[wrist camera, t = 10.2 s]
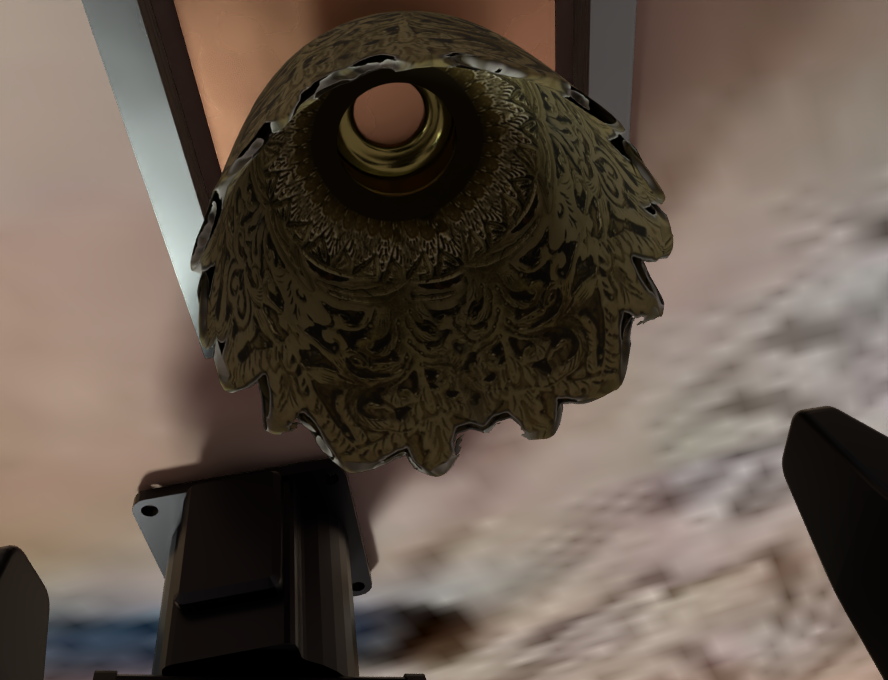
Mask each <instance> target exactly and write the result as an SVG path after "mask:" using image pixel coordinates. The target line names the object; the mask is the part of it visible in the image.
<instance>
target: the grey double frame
mask: <svg viewBox="0 0 888 680" xmlns="http://www.w3.org/2000/svg"><path fill="white" fill-rule="evenodd" d="M82 3H83V6H84V9H85V12H86V15H87V18H88V20H89V23H90V26H91V29H92V32H93V35H94V38H95V41H96V44H97V46H98V49H99V52H100V55H101V58H102V61H103V64H104V67H105V70H106V72H107V75H108V78H109V81H110V84H111V87H112V90H113V93H114V96H115V99H116V101H117V104H118V107H119V110H120V113H121V116H122V119H123V122H124V125H125V127H126V130H127V133H128V136H129V139H130V142H131V145H132V148H133V151H134V154H135V156H136V159H137V162H138V165H139V168H140V171H141V174H142V177H143V180H144V182H145V185H146V188H147V191H148V194H149V197H150V200H151V203H152V206H153V209H154V211H155V214H156V217H157V220H158V223H159V226H160V229H161V232H162V235H163V237H164V240H165V243H166V246H167V249H168V252H169V255H170V258H171V261H172V264H173V266H174V269H175V272H176V275H177V278H178V281H179V284H180V287H181V290H182V292H183V295H184V298H185V301H186V304H187V307H188V310H189V313H190V316H191V318H192V321H193V324H194V327H195V330H196V333H197V336H198V339H199V342H200V345H201V347H202V350H203V353H204V356H205V359H206V358H212V357H213V353H214V346H215V344H214V345H213V346H212V347H209V348H208V349H206V348H204V347H203V346H202V344H201V341H200V337H199V302H198V296H197V289H198V285H199V280H200V276H201V274H199V273H196V272H193V271H192V270H191V265H190V262H191V256H192V252H193V248H194V245H195V241H196V238H197V235H198V233H199V231H200V229H201V226H202V224H203V221H204V219H205V215H206V213H207V210H208V206H209V204H210V202H209V198H208V195H207V191H206V188H205V185H204V181H203V178H202V175H201V171H200V168H199V164H198V161H197V158H196V154H195V151H194V148H193V144H192V141H191V137H190V134H189V131H188V127H187V124H186V121H185V117H184V114H183V110H182V107H181V104H180V100H179V97H178V94H177V90H176V87H175V83H174V80H173V77H172V73H171V70H170V67H169V63H168V60H167V56H166V53H165V50H164V46H163V43H162V40H161V36H160V33H159V29H158V26H157V23H156V19H155V16H154V13H153V9H152V6H151V2H150V0H82ZM174 4H175V8H176V11H177V15H178V18H179V22H180V25H181V29H182V33H183V36H184V40H185V43H186V47H187V51H188V54H189V58H190V61H191V65H192V68H193V72H194V76H195V79H196V83H197V86H198V90H199V93H200V97H201V101H202V104H203V108H204V111H205V115H206V119H207V122H208V126H209V129H210V133H211V136H212V140H213V144H214V147H215V151H216V154H217V158H218V162H219V165H220V169H221V172H223V169H224V167H225V164H226V162H227V159H228V157H229V155H230V152H231V150H232V147H233V145H234V143H235V141H236V138H237V136H238V134H239V132H240V130H241V127H242V126H243V124H244V122H245V120H246V118H247V116H248V114H249V112H250V111H251V109H252V107H253V105H254V103H255V101H256V99H257V98H258V96H259V95H260V94H261V92H262V91H263V89H264V88H265V87H266V85H267V84H268V82H269V81H270V80H271V78H272V77H273V76H274V75H275V73H276V72H277V71H278V70H279V69H280V68H281V67H282V66H283V65H284V63H285V62H286V61H287V60H288V59H290V58H291V57H292V56H293V55H294V54H295V53H296V52H298V51H299V50H300V49H301V48H302V47H304V46H305V45H306V44H308V43H309V42H311V41H312V40H314V39H315V38H317V37H318V36H320V35H322V34H323V33H325V32H327V31H329V30H331V29H333V28H335V27H337V26H339V25H341V24H344V23H346V22H349V21H352V20H354V19H357V18H361V17H365V16H369V15H373V14H377V13H384V12H392V11H425V12H435V13H441V14H446V15H450V16H454V17H459V18H461V19H464V20H467V21H470V22H473V23H475V24H478V25H480V26H483V27H485V28H487V29H489V30H491V31H493V32H495V33H497V34H499V35H501V36H503V37H505V38H506V39H508V40H510V41H512V42H513V43H515V44H516V45H518V46H519V47H521V48H522V49H524V50H525V51H527V52H528V53H530V54H531V55H532V56H534V57H535V58H537V59H538V60H540V61H541V62H542V63H544V64H545V65H547V66H548V67H549V68H551V69H552V70H553V71H555V0H174ZM636 6H637V0H574V86H575V87H576V88H577V89H578V90H580V91H581V92H583V93H584V94H585V95H587V96H589V97H590V98H591V99H593V100H594V101H596V102H597V103H598V104H600V105H601V106H602V107H604V108H605V109H606V110H607V111H608V112H610V113H611V114H612V115H613V116H614V117H615V118H616V119H617V120H618V121H619V122H620V123H621V124H622V125H623V127H624V128H625V130H626V132H625V133H623V134H621V136H622V137H623V138H624V139H625V140H627V141H628V142H629V134H630V116H631V98H632V79H633V61H634V43H635V24H636ZM424 115H425V109H424V103H423V100H422V98H421V95H420V94H419V92H418V91H417V90H416V89H415V88H414V87H413V86H412V85H411V84H408V83H389V84H384V85H380V86H377V87H374V88H372V89H370V90H368V91H366V92H365V93H363V94H362V95H360V96H359V97H358V98H357V100H356V102H355V106H354V120H355V123H356V126H357V128H358V130H359V132H360V133H361V134H362V135H363V136H364V137H365V138H366V139H367V140H368V141H370V142H372V143H374V144H376V145H379V146H385V147H392V146H397V145H401V144H403V143H405V142H407V141H409V140H410V139H412V138H413V137H414V136H415V135H416V134H417V132H418V131H419V130H420V128H421V126H422V123H423V120H424ZM201 272H202V271H201Z"/></svg>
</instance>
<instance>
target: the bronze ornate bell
mask: <svg viewBox="0 0 888 680" xmlns="http://www.w3.org/2000/svg"><path fill="white" fill-rule="evenodd" d="M389 83H408V84H411V85H412V86H413V87H414V88H415V89H416V90H417V91H418V92H419V94H420V95H421V98H422V100H423V103H424V109H425V115H424V120H423V123H422V126H421V128H420V130H419V131H418V132H417V134H416V135H415V136H414V137H413V138H412V139H410V140H409V141H407V142H405V143H403V144H401V145H397V146H392V147H385V146H379V145H376V144H374V143H372V142H370V141H368V140H367V139H366V138H365V137H364V136H363V135H362V134H361V133H360V132H359V130H358V128H357V126H356V123H355V120H354V106H355V102H356V100H357V98H358V97H359V96H360V95H362V94H363V93H365V92H366V91H368V90H370V89H372V88H374V87H377V86H380V85H384V84H389ZM625 132H626V130H625V128H624V127H623V125H622V124H621V123H620V122H619V121H618V120H617V119H616V118H615V117H614V116H613V115H612V114H611V113H610V112H608V111H607V110H606V109H605V108H604V107H602V106H601V105H600V104H598V103H597V102H596V101H594V100H593V99H591V98H590V97H589V96H587V95H585V94H584V93H583V92H581V91H580V90H578V89H577V88H576V87H575V86H573V85H572V84H571V83H569V82H568V81H567V80H565V79H564V78H563V77H561V76H560V75H559V74H557V73H556V72H555V71H553V70H552V69H551V68H549V67H548V66H547V65H545V64H544V63H542V62H541V61H540V60H538V59H537V58H535V57H534V56H532V55H531V54H530V53H528V52H527V51H525V50H524V49H522V48H521V47H519V46H518V45H516V44H515V43H513V42H512V41H510V40H508V39H506V38H505V37H503V36H501V35H499V34H497V33H495V32H493V31H491V30H489V29H487V28H485V27H483V26H480V25H478V24H475V23H473V22H470V21H467V20H464V19H461V18H459V17H454V16H450V15H446V14H441V13H435V12H425V11H392V12H384V13H377V14H373V15H369V16H365V17H361V18H357V19H354V20H352V21H349V22H346V23H344V24H341V25H339V26H337V27H335V28H333V29H331V30H329V31H327V32H325V33H323V34H322V35H320V36H318V37H317V38H315V39H314V40H312V41H311V42H309V43H308V44H306V45H305V46H304V47H302V48H301V49H300V50H299V51H298V52H296V53H295V54H294V55H293V56H292V57H291V58H290V59H288V60H287V61H286V62H285V63H284V65H283V66H282V67H281V68H280V69H279V70H278V71H277V72H276V73H275V75H274V76H273V77H272V78H271V80H270V81H269V82H268V84H267V85H266V87H265V88H264V89H263V91H262V92H261V94H260V95H259V96H258V98H257V99H256V101H255V103H254V105H253V107H252V109H251V111H250V112H249V114H248V116H247V118H246V120H245V122H244V124H243V126H242V127H241V130H240V132H239V134H238V136H237V138H236V141H235V143H234V145H233V147H232V150H231V152H230V155H229V157H228V159H227V162H226V164H225V167H224V169H223V172H222V174H221V177H220V179H219V181H218V183H217V184H216V186H215V188H214V190H213V192H212V195H211V198H210V204H209V206H208V210H207V213H206V215H205V219H204V221H203V224H202V226H201V229H200V231H199V233H198V235H197V238H196V241H195V245H194V248H193V252H192V256H191V262H190V265H191V270H192V271H193V272H196V273H199V274H201V276H200V280H199V285H198V289H197V296H198V302H199V337H200V341H201V344H202V346H203V347H204V348H206V349H208V348H209V347H212V346H213V345H214V344H215V346H214V353H213V358H214V362H215V365H216V369H217V372H218V376H219V381H220V384H221V385H222V387H223V389H224V390H225V391H227V392H230V393H234V392H237V391H240V390H243V389H247V388H249V387H251V386H254V385H255V384H256V383H259V389H260V393H261V399H262V415H263V423H264V427H265V430H266V431H268V432H270V433H272V434H276V435H278V434H280V435H281V434H282V433H283V432H287V431H293V430H294V429H295V428H297V425H298V424H300V423H301V424H302V425H304V426H305V427H307V428H308V429H309V430H310V431H311V433H312V434H313V436H314V438H315V440H316V442H317V443H318V445H319V447H320V448H321V450H322V451H323V452H324V453H325V454H326V455H327V456H328V457H329V458H330V459H331V460H332V461H333V462H335V463H336V464H337V465H338V466H340V467H341V468H343V469H344V470H345V471H347V472H350V473H358V472H363V471H368V470H372V469H375V468H377V467H379V466H381V465H384V464H387V463H389V462H391V461H392V460H394V459H396V458H399V457H403V456H405V455H406V456H407V458H408V460H409V462H410V463H411V464H412V466H413V467H414V468H415V469H416V470H418V471H420V472H422V473H425V474H427V475H431V476H435V477H437V476H442V475H443V474H445V473H446V472H447V471H448V470H449V469H451V468H452V467H453V465H454V462H455V460H456V459H457V457H458V456H459V455H460V454H459V455H457V454H458V453H459V451H460V449H461V447H460V446H459V444H460V443H461V441H462V438H461V437H462V436H463V435H464V434H463V435H461V436H459V437H458V439H457V440H456V445H455V449H454V448H453V446H454V442H455V438H456V436H457V434H459V433H461V432H464V431H467V430H470V429H473V430H477V431H480V432H483V433H489V432H490V431H491V430H492V429H493V427H494V426H495V425H496V424H495V423H496V422H498V421H502V420H505V419H508V418H511V419H513V420H514V421H515V422H516V423H517V424H519V425H520V426H521V430H523V431H524V432H525V434H522V436H524V437H525V438H527V439H529V440H536V439H547V438H550V437H552V436H553V435H554V434H555V433H556V431H557V429H558V427H559V425H560V421H561V416H562V412H563V411H562V410H563V404H569V403H574V404H585V403H589V402H592V401H594V400H597V399H599V398H601V397H603V396H605V395H607V394H608V393H610V392H612V391H614V390H617V389H618V388H619V387H620V386H621V385H622V383H623V380H624V378H625V374H626V370H627V365H628V359H629V353H630V347H631V342H630V334H631V327H632V323H633V321H634V319H635V318H639V317H641V316H642V317H644V320H643V321H640V322H639V323H638V324H637V325H640V324H641V323H643V324H644V323H645V322H647V321H649V320H653V319H655V318H657V317H659V316H660V317H661V316H662V315H663V310H664V301H663V299H662V296H661V294H660V293H659V291H658V289H657V287H656V286H655V284H654V282H653V280H652V278H651V277H650V275H649V272H648V271H647V267H646V265H645V263H644V261H646V262H656V261H657V260H658V259H662V258H668V256H669V255H670V253H671V251H672V248H673V234H672V232H671V227H670V223H669V220H668V217H667V215H666V214H665V213H664V212H663V211H662V210H661V209H660V208H659V207H658V206H657V205H656V204H662V203H663V202H664V200H665V195H664V193H663V191H662V189H661V188H660V186H659V185H658V183H657V182H656V180H655V179H654V177H653V176H652V174H651V173H650V172H649V170H648V169H647V167H646V166H645V165H644V163H643V161H642V159H641V157H640V155H639V153H638V152H637V150H636V148H635V147H634V146H633V145H632V144H631V143H630V142H628V141H627V140H625V139H624V138H623V137H622V136H621V134H623V133H625ZM201 271H202V272H201ZM632 316H634V318H632ZM257 381H258V382H257ZM296 418H297V419H299V421H300V423H298V422H294V420H295V419H296ZM293 422H294V423H293ZM497 424H500V423H497ZM454 451H455V453H456V454H455V455H453V454H454Z"/></svg>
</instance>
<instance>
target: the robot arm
mask: <svg viewBox="0 0 888 680" xmlns="http://www.w3.org/2000/svg"><path fill="white" fill-rule="evenodd" d="M782 468H783V473H784V477H785V479H786V482H787V484H788V486H789V489H790V491H791V493H792V496H793V498H794V500H795V503H796V505H797V507H798V510H799V512H800V514H801V517H802V519H803V521H804V524H805V526H806V528H807V531H808V533H809V535H810V537H811V540H812V542H813V544H814V547H815V549H816V551H817V554H818V556H819V558H820V561H821V563H822V565H823V568H824V570H825V572H826V574H827V577H828V579H829V581H830V583H831V585H832V587H833V590H834V591H835V593H836V595H837V597H838V599H839V601H840V603H841V605H842V606H843V608H844V610H845V612H846V614H847V615H848V617H849V619H850V621H851V623H852V624H853V626H854V628H855V630H856V631H857V633H858V635H859V637H860V638H861V640H862V642H863V644H864V645H865V647H866V649H867V651H868V653H869V654H870V656H871V658H872V660H873V661H874V663H875V665H876V667H877V668H878V670H879V672H880V674H881V675H882V677H883V679H884V680H888V437H887V436H885V435H884V434H882V433H880V432H878V431H876V430H875V429H873V428H871V427H869V426H867V425H866V424H864V423H862V422H860V421H858V420H857V419H855V418H853V417H851V416H849V415H848V414H846V413H844V412H842V411H840V410H839V409H836V408H834V407H831V406H822V407H816V408H810V409H805V410H800V411H798V412H797V413H796V414H795V415H794V416H793V418H792V421H791V425H790V429H789V433H788V437H787V441H786V445H785V449H784V453H783V458H782ZM328 473H334V475H326V474H328ZM146 505H152V506H154V507H149V506H146ZM132 511H133V515H134V517H135V519H136V521H137V523H138V525H139V527H140V529H141V531H142V533H143V535H144V537H145V539H146V541H147V543H148V545H149V548H150V550H151V552H152V554H153V556H154V558H155V560H156V562H157V564H158V566H159V568H160V570H161V572H162V574H163V576H164V578H165V582H164V589H163V597H162V604H161V611H160V618H159V625H158V632H157V640H156V647H155V654H154V661H153V668H152V675H129V674H117V671H101V670H95V673H94V677H93V680H426V678H425V675H424V674H404V676H403V677H359V667H358V654H357V641H356V629H355V616H354V603H353V596H358V595H362V594H365V593H367V592H368V591H369V590H370V589H371V588H372V581H371V573H370V569H369V564H368V560H367V556H366V552H365V547H364V543H363V539H362V534H361V530H360V526H359V522H358V517H357V513H356V509H355V504H354V500H353V496H352V492H351V487H350V483H349V479H348V475H347V471H345V470H344V469H343V468H341V467H340V466H338V465H337V464H336V463H335V462H333V461H332V460H331V459H330V458H327V459H321V460H315V461H309V462H304V463H298V464H292V465H287V466H281V467H275V468H269V469H264V470H258V471H252V472H247V473H241V474H235V475H229V476H224V477H218V478H212V479H206V480H201V481H195V482H189V483H184V484H178V485H172V486H166V487H161V488H155V489H149V490H145V491H142V492H140V493H138V494H137V495H136V497H135V499H134V503H133V508H132ZM48 620H49V597H48V593H47V590H46V588H45V586H44V584H43V582H42V581H41V579H40V578H39V576H38V574H37V573H36V571H35V570H34V568H33V566H32V565H31V563H30V562H29V560H28V558H27V557H26V555H25V554H24V552H23V551H22V550H21V549H20V548H19V547H17V546H12V545H9V546H4V547H0V680H43V678H44V666H45V655H46V643H47V632H48Z"/></svg>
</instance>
